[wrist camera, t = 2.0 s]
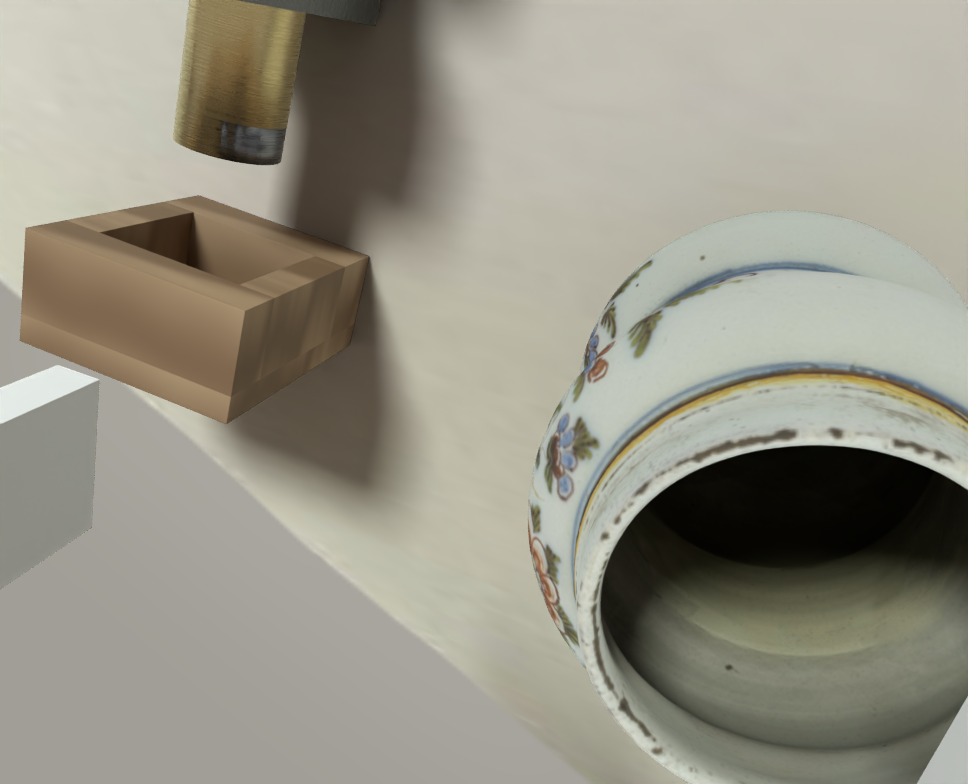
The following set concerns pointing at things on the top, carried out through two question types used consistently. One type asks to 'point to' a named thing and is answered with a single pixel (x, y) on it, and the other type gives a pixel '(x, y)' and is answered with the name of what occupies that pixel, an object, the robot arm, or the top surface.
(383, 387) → the top surface
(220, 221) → the socket block
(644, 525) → the apothecary jar
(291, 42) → the tube
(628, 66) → the top surface
